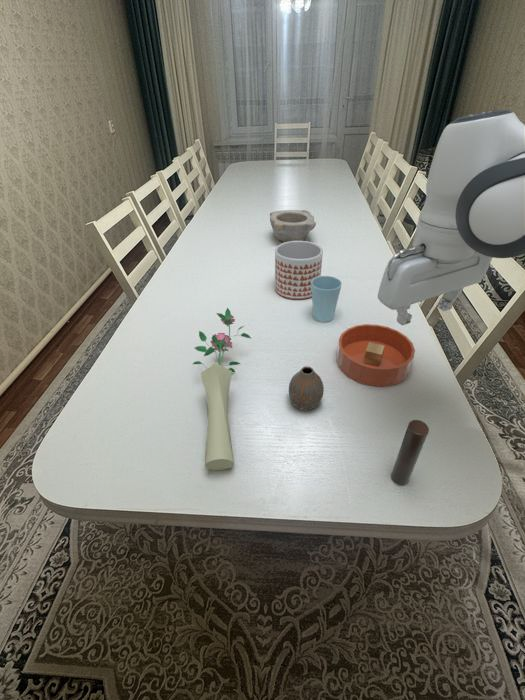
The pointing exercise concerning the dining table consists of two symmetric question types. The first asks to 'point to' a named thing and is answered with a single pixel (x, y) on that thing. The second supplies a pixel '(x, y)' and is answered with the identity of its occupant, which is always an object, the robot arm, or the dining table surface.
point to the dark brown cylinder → (409, 451)
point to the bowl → (393, 358)
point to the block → (373, 354)
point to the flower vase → (218, 399)
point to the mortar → (292, 224)
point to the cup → (325, 297)
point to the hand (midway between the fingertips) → (424, 315)
